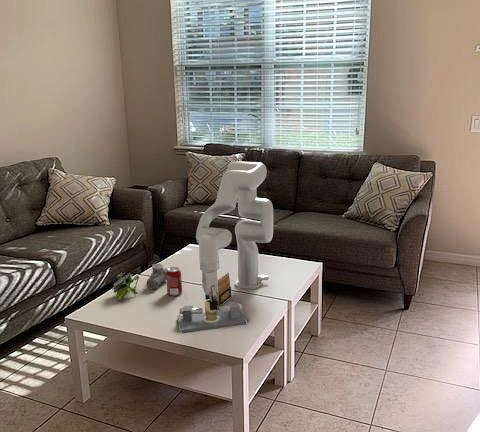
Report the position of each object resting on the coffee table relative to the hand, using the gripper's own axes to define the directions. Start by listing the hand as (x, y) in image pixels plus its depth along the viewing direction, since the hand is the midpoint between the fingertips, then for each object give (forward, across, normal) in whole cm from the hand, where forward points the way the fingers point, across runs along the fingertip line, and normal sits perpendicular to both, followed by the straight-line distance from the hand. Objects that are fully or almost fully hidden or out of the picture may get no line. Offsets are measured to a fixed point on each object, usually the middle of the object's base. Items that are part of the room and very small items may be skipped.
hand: (211, 304), depth 205 cm
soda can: (+8, -31, -12) cm, 34 cm away
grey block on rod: (+6, -1, -8) cm, 10 cm away
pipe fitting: (+9, -43, -18) cm, 48 cm away
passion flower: (+8, -35, -33) cm, 49 cm away
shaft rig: (+8, +1, 0) cm, 8 cm away
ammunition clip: (+8, -17, +8) cm, 21 cm away
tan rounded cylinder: (+6, 0, 0) cm, 6 cm away
